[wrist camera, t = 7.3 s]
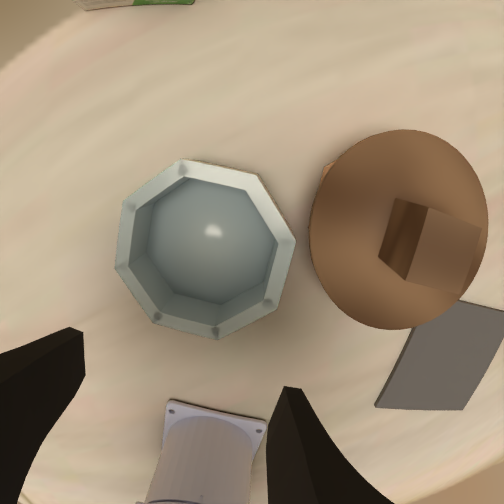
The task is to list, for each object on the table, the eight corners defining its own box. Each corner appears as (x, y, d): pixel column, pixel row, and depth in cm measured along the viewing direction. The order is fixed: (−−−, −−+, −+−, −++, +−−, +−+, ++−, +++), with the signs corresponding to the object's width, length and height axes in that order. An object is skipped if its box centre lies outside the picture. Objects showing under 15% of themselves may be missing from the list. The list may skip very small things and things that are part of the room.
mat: (461, 407, 23) (462, 410, 22) (374, 404, 22) (375, 407, 22) (511, 312, 20) (513, 314, 20) (427, 292, 20) (429, 294, 19)
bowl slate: (264, 322, 21) (264, 350, 17) (132, 288, 21) (111, 310, 17) (302, 184, 18) (310, 188, 15) (154, 152, 18) (132, 150, 15)
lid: (443, 334, 17) (477, 371, 13) (284, 303, 17) (290, 346, 12) (497, 171, 14) (545, 177, 10) (337, 103, 14) (362, 81, 10)
